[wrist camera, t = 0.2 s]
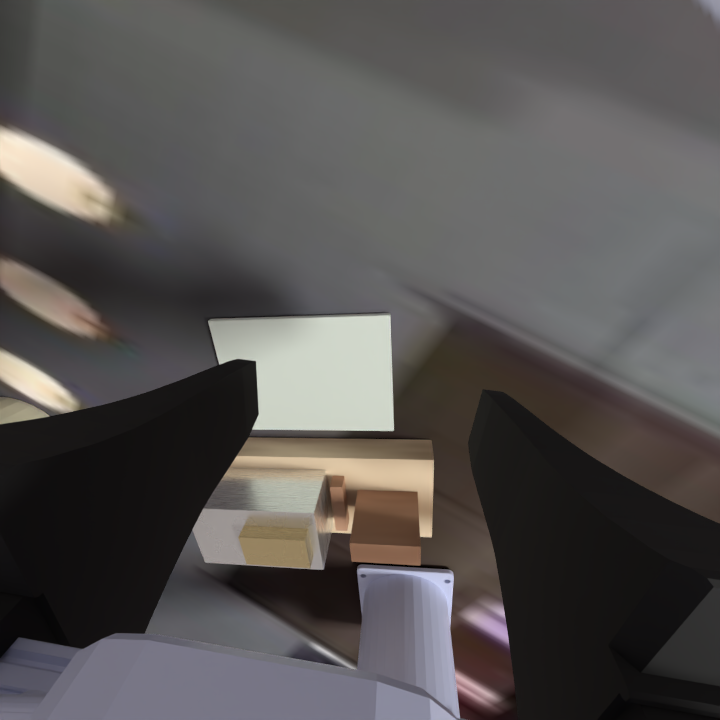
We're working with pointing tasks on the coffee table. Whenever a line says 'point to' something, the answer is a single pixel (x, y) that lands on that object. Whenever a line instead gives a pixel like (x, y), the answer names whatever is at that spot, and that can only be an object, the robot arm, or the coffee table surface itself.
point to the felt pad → (315, 369)
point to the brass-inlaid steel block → (267, 519)
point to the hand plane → (363, 488)
